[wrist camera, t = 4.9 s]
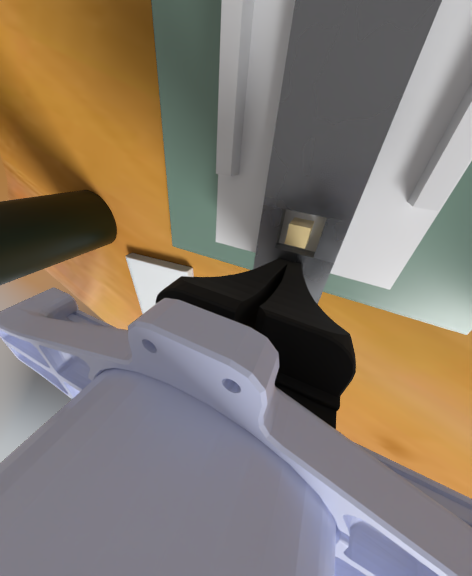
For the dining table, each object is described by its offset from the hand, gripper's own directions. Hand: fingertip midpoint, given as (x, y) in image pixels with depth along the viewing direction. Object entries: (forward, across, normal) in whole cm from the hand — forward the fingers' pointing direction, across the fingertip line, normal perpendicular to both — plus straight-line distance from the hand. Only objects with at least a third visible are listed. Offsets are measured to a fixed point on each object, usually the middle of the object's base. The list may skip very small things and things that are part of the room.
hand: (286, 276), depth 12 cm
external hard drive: (+6, +13, +11) cm, 18 cm away
